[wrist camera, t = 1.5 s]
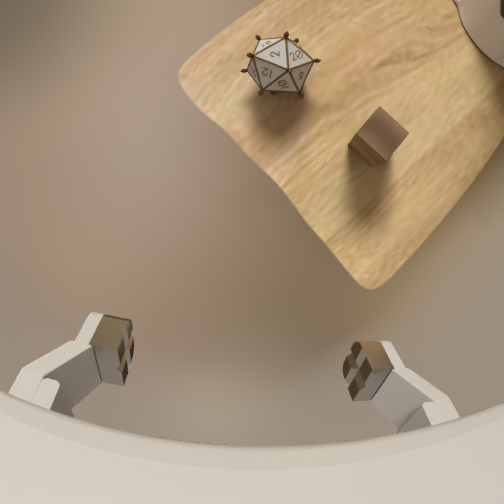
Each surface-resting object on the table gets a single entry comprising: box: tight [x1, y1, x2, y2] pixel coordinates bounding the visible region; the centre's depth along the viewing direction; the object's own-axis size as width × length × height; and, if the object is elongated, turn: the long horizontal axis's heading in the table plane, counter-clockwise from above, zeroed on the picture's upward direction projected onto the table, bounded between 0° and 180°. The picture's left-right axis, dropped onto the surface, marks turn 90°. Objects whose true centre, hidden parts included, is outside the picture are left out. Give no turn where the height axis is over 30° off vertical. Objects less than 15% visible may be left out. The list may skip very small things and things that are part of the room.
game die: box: [240, 31, 321, 98], centre depth 30 cm, size 9×8×10 cm
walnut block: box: [348, 106, 409, 166], centre depth 30 cm, size 4×4×8 cm
